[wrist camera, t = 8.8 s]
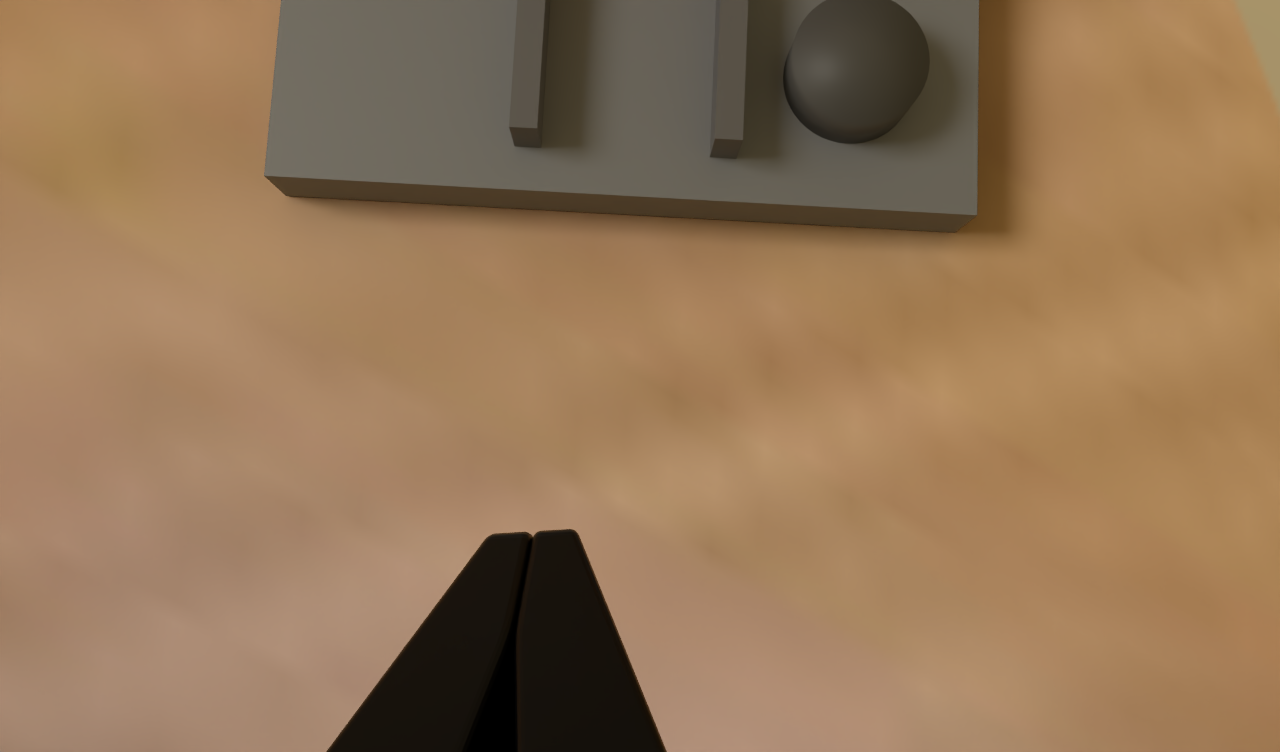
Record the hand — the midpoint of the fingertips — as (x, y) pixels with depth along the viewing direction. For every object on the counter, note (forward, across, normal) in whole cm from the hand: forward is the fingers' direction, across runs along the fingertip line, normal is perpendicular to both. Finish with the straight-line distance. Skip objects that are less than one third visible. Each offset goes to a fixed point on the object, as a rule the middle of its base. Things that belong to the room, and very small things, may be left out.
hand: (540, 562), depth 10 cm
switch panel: (+19, -1, -1) cm, 19 cm away
